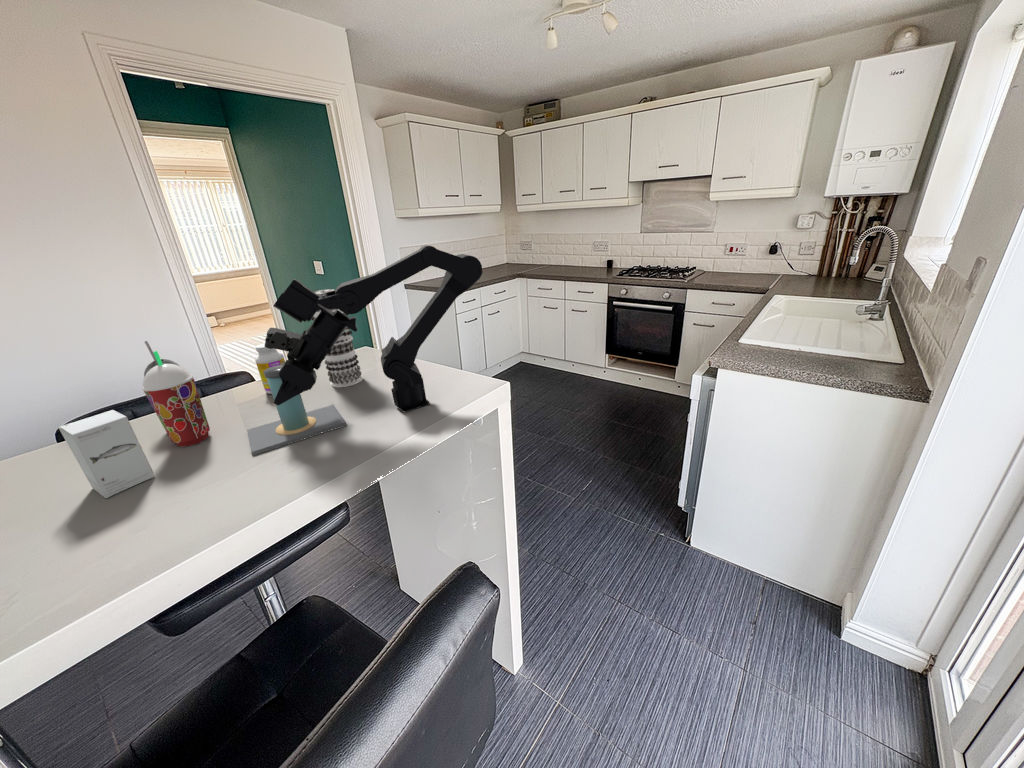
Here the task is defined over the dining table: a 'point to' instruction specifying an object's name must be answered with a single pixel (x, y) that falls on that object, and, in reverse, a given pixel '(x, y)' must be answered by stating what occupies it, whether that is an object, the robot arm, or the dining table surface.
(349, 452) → the dining table surface
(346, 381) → the decorative candle
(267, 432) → the mat
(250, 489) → the dining table surface
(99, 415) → the supplement box
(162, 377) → the smoothie
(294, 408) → the teal capped cylinder
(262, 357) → the supplement bottle
